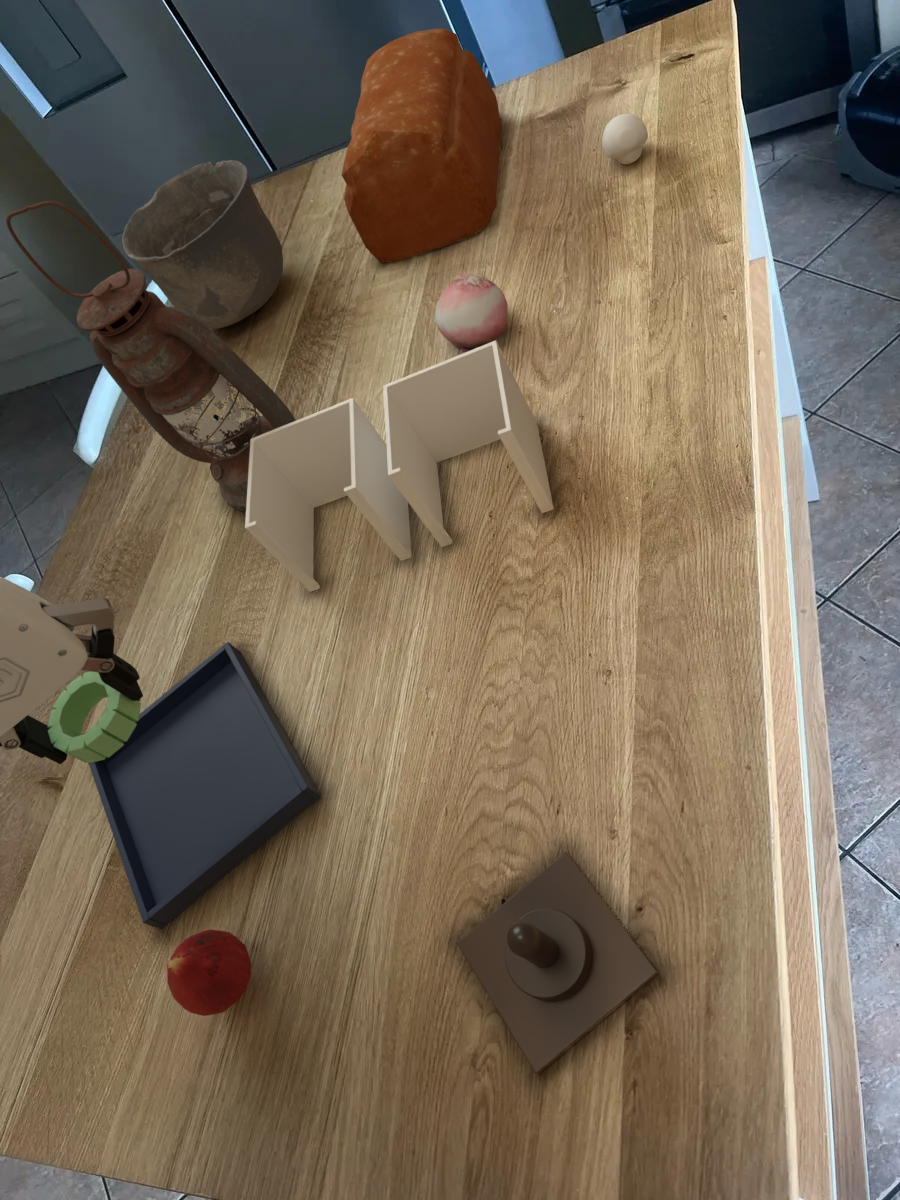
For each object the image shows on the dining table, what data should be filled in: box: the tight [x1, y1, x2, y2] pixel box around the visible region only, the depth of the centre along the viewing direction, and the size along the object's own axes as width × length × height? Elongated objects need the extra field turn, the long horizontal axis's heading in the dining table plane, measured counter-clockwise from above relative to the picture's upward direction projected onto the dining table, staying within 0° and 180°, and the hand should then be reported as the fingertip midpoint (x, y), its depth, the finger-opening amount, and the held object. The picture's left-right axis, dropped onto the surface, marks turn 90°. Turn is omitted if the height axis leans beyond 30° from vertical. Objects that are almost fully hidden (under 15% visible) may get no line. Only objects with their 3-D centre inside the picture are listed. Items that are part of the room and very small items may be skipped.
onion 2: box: [434, 273, 509, 356], centre depth 93 cm, size 8×8×7 cm
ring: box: [47, 671, 142, 764], centre depth 70 cm, size 7×7×2 cm
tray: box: [88, 641, 322, 930], centre depth 80 cm, size 17×19×2 cm
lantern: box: [5, 200, 296, 512], centre depth 86 cm, size 11×16×35 cm
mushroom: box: [601, 113, 649, 165], centre depth 100 cm, size 5×5×5 cm
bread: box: [341, 27, 503, 263], centre depth 109 cm, size 17×24×15 cm
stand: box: [456, 851, 659, 1075], centre depth 58 cm, size 10×10×7 cm
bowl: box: [121, 159, 284, 329], centre depth 113 cm, size 18×18×15 cm
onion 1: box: [165, 928, 252, 1017], centre depth 66 cm, size 6×6×8 cm
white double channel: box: [244, 340, 555, 593], centre depth 83 cm, size 25×11×11 cm, turn 95°
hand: (96, 717), depth 70 cm, fingers closed on ring, 6 cm apart
